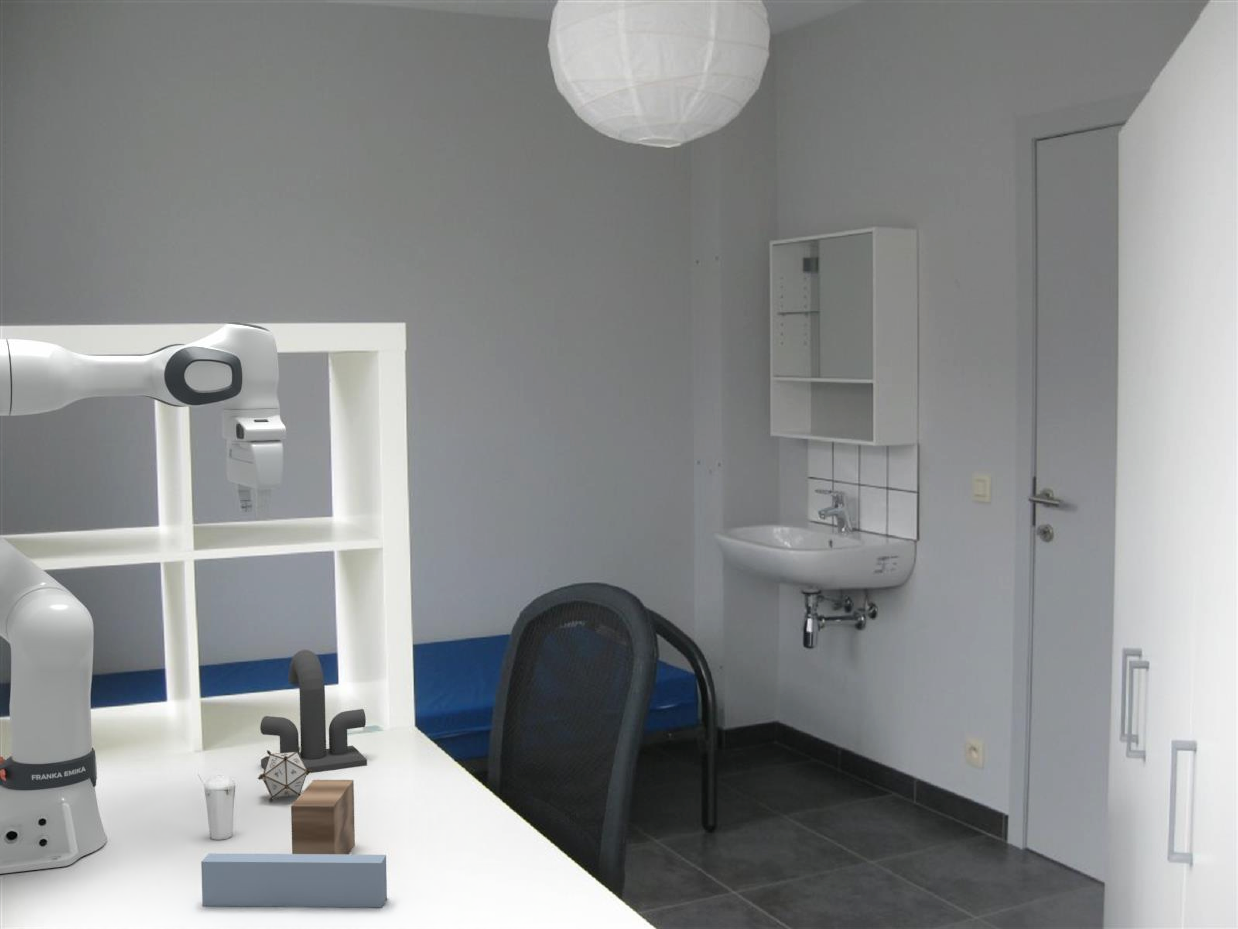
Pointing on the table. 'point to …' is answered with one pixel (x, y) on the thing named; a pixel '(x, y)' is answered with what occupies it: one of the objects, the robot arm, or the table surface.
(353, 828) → the walnut block
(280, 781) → the game die
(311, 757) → the faucet
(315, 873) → the slate board
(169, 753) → the table surface
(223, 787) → the milkshake
